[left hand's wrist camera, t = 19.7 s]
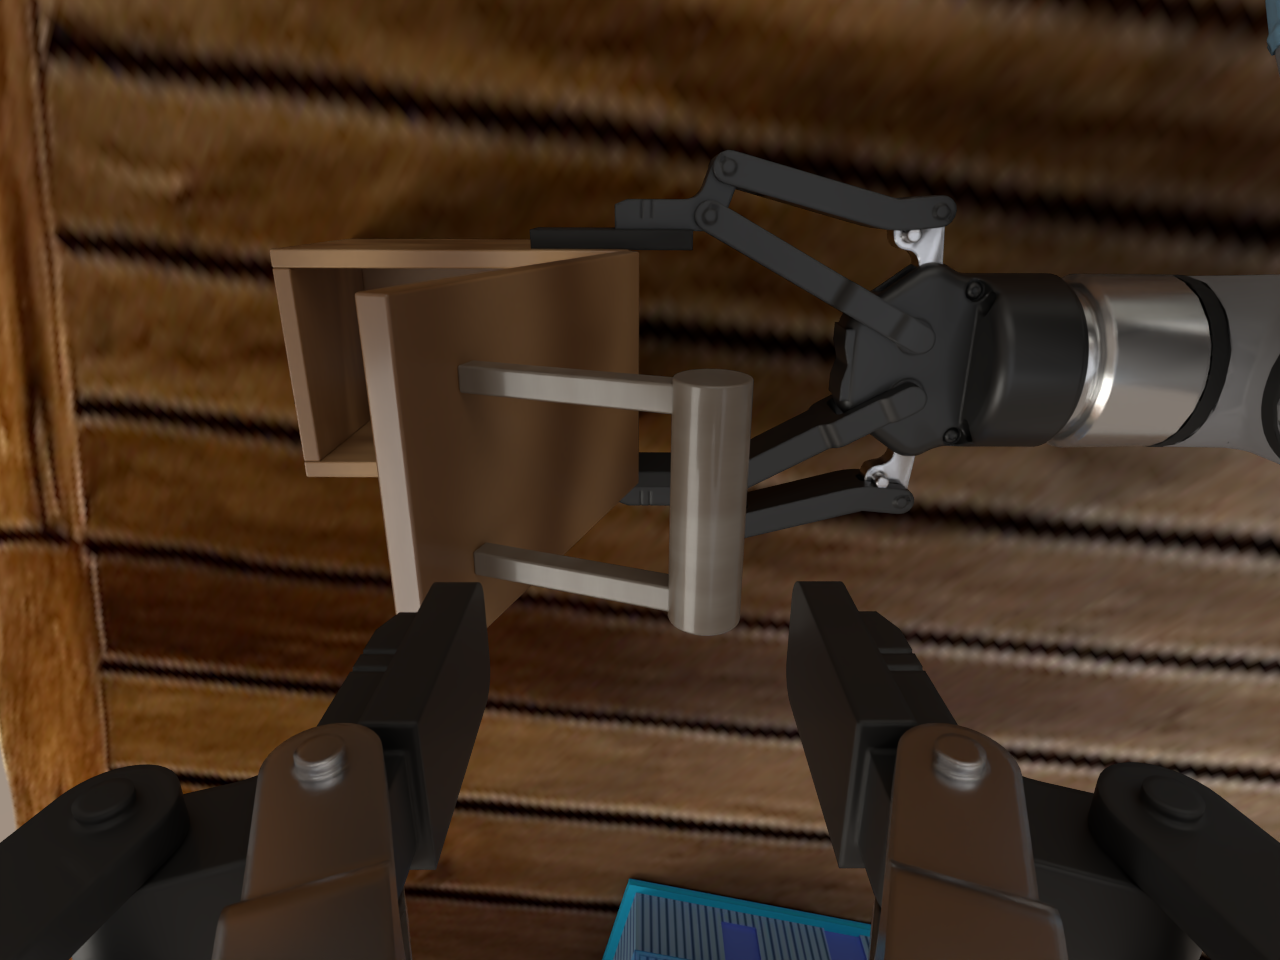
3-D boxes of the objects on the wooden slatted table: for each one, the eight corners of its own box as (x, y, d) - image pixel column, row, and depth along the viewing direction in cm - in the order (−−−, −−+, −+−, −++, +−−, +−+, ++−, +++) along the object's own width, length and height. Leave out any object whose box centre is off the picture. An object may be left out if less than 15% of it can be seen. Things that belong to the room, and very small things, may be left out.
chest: (372, 422, 40) (306, 477, 32) (349, 238, 37) (268, 249, 29) (631, 423, 40) (629, 478, 32) (631, 239, 37) (629, 250, 29)
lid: (402, 676, 19) (707, 753, 16) (352, 291, 16) (727, 311, 13) (620, 480, 32) (808, 506, 29) (619, 250, 29) (830, 256, 26)
